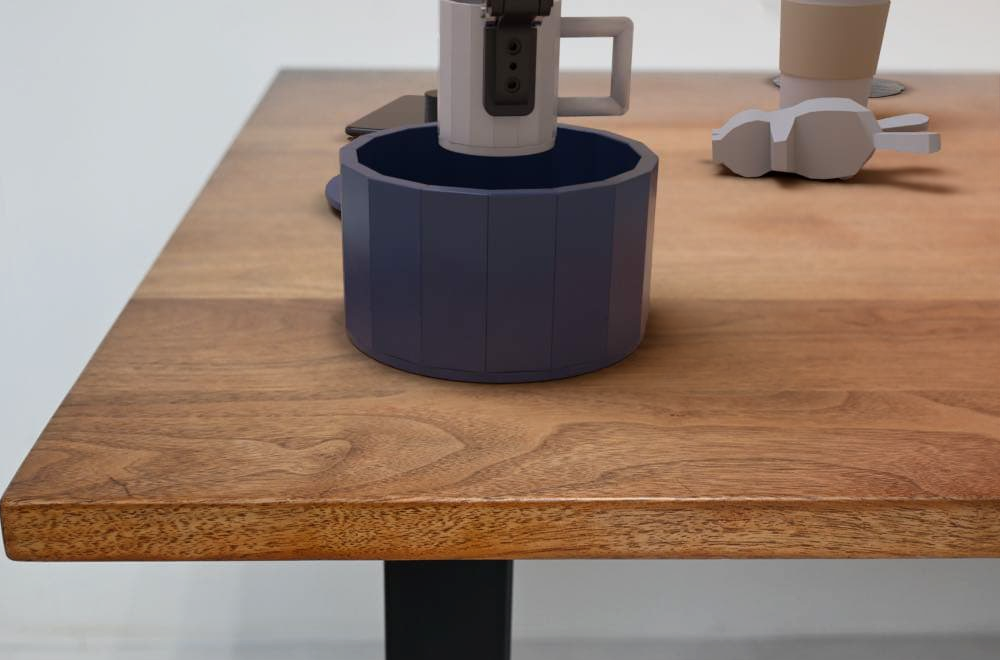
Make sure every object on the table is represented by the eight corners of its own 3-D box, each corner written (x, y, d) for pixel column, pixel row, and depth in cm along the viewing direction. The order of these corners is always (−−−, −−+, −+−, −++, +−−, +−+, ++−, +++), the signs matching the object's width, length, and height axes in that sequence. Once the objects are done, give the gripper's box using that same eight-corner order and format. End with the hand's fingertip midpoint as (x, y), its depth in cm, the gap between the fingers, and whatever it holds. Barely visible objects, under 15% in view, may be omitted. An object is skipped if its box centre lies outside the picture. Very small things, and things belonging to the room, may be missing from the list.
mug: (444, 158, 55) (445, 6, 53) (432, 131, 60) (432, -9, 58) (641, 153, 56) (650, 4, 54) (613, 128, 61) (621, -10, 59)
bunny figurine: (712, 99, 93) (925, 83, 90) (714, 166, 95) (923, 153, 92) (710, 126, 85) (946, 109, 81) (713, 199, 87) (943, 186, 83)
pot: (607, 270, 69) (615, 117, 66) (680, 376, 56) (696, 189, 52) (340, 279, 67) (335, 122, 64) (350, 390, 54) (345, 198, 51)
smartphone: (402, 103, 111) (340, 137, 98) (402, 93, 111) (340, 127, 98) (483, 108, 109) (431, 144, 96) (483, 98, 109) (431, 133, 96)
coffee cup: (897, 130, 102) (925, -63, 97) (795, 135, 101) (817, -62, 95) (843, 108, 110) (866, -71, 105) (748, 112, 109) (765, -71, 103)
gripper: (641, -337, 45) (614, 134, 51) (563, -299, 58) (550, 73, 64) (431, -343, 44) (431, 138, 50) (401, -302, 57) (404, 74, 64)
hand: (498, 99), depth 57 cm, fingers closed on mug, 5 cm apart
